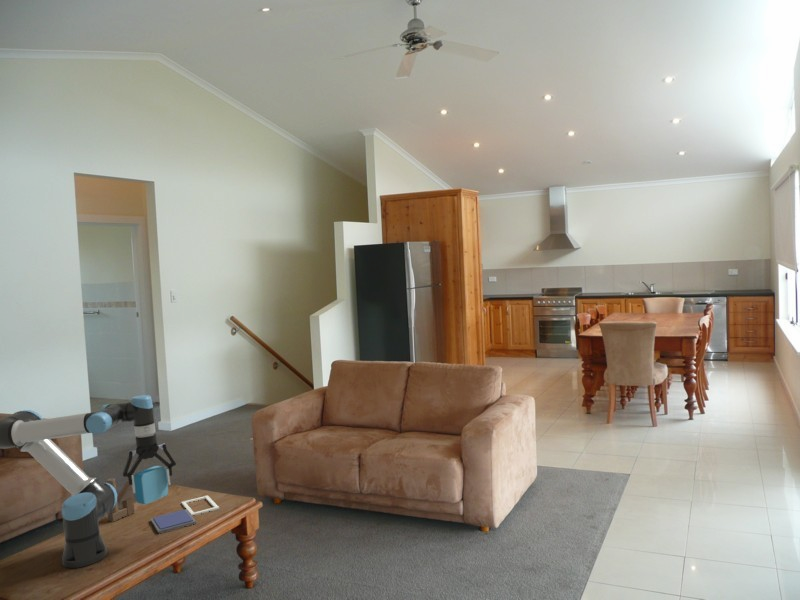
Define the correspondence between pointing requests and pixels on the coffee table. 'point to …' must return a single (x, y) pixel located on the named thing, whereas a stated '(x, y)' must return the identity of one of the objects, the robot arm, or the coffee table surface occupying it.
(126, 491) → the brown wooden mallet
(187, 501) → the frame
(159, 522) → the ink pad
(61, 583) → the coffee table surface
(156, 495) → the data package
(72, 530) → the robot arm
